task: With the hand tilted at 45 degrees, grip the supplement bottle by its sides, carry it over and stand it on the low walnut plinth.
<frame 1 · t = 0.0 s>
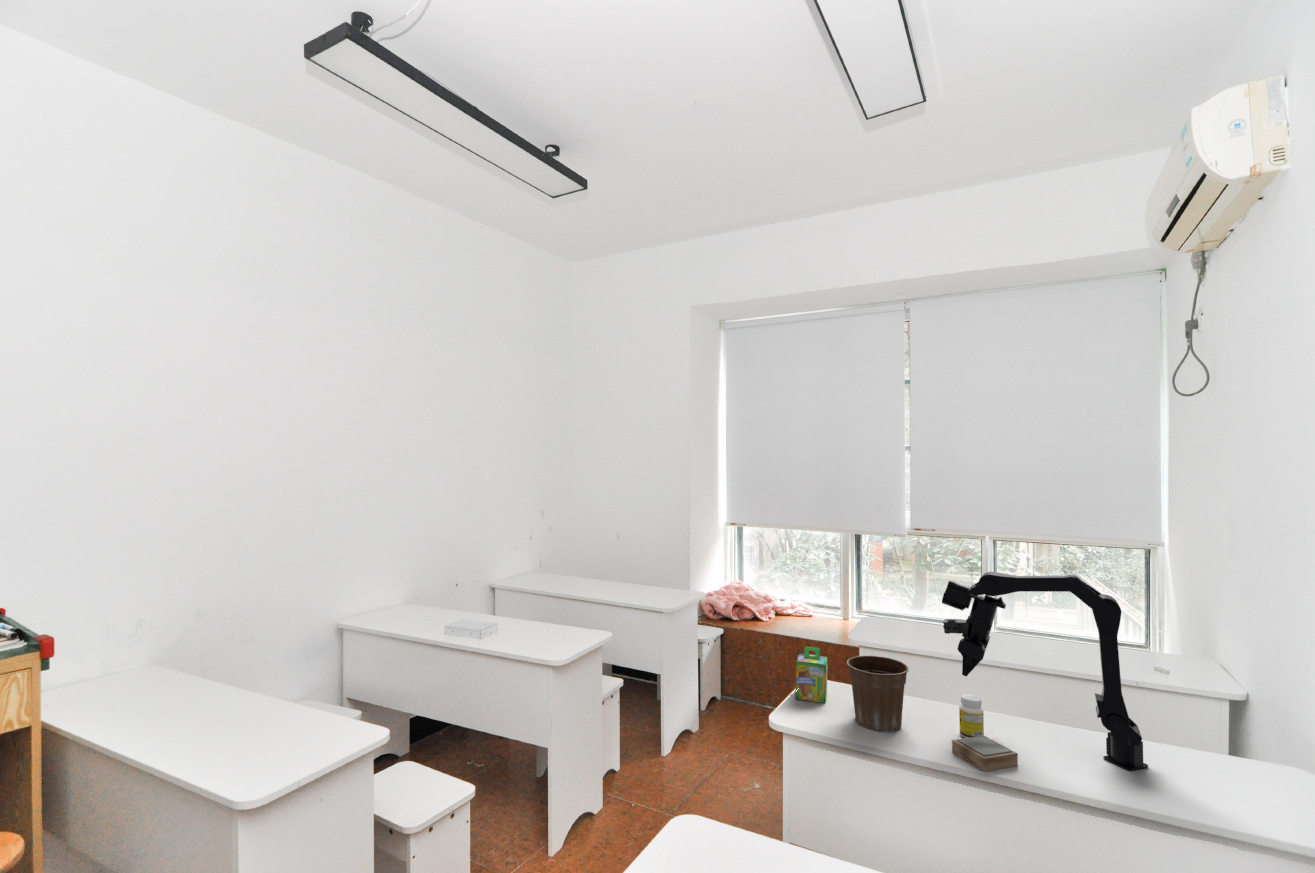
hand: (966, 670, 167), 15 cm above the table, tool pointing down, fingers open, 9 cm apart
plinth: (984, 758, 148), on the table
plant pot: (877, 723, 169), on the table
chalk box: (811, 697, 188), on the table
supplement bottle: (971, 737, 161), on the table
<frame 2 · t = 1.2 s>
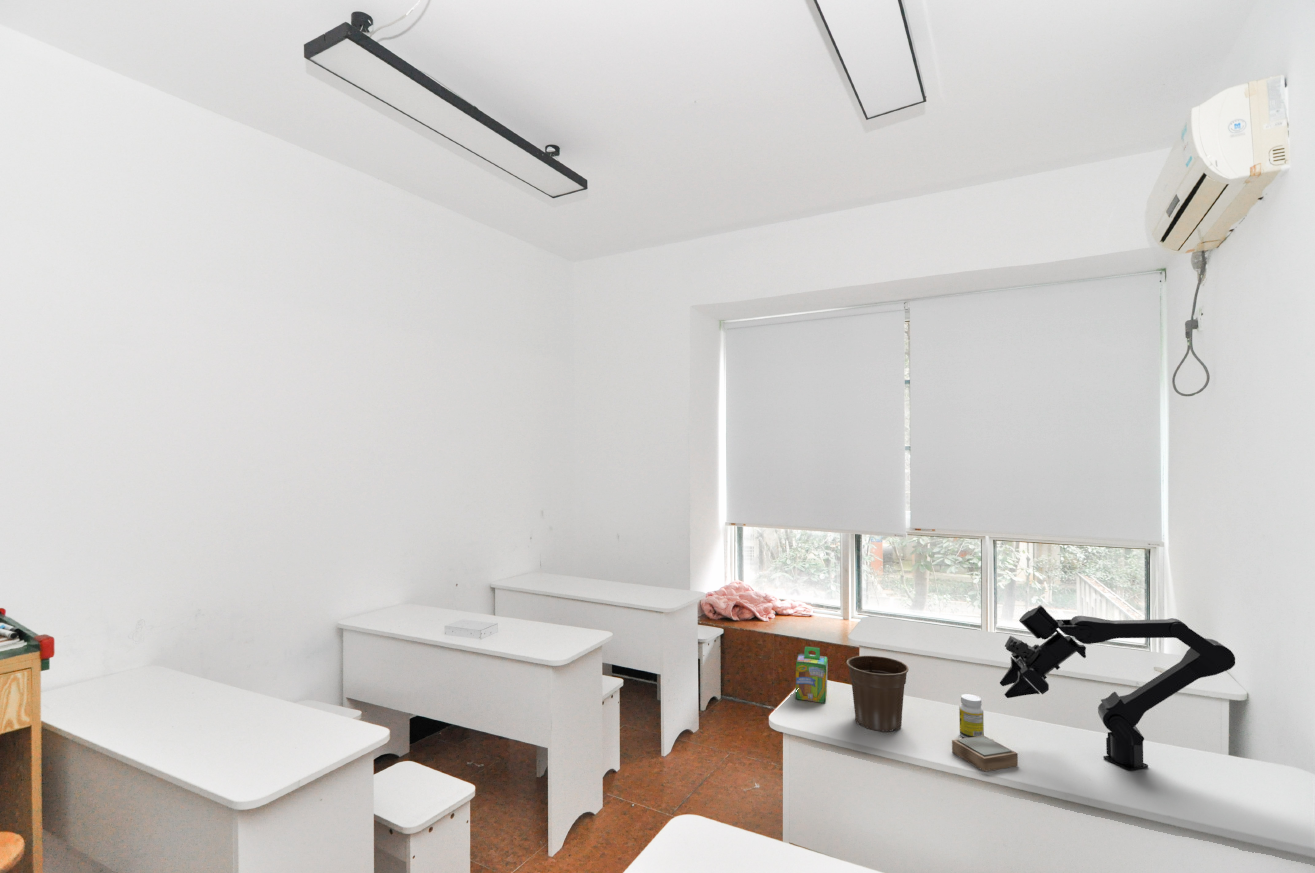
hand: (1003, 690, 159), 13 cm above the table, tool tilted 45°, fingers open, 9 cm apart
nothing on the table moved.
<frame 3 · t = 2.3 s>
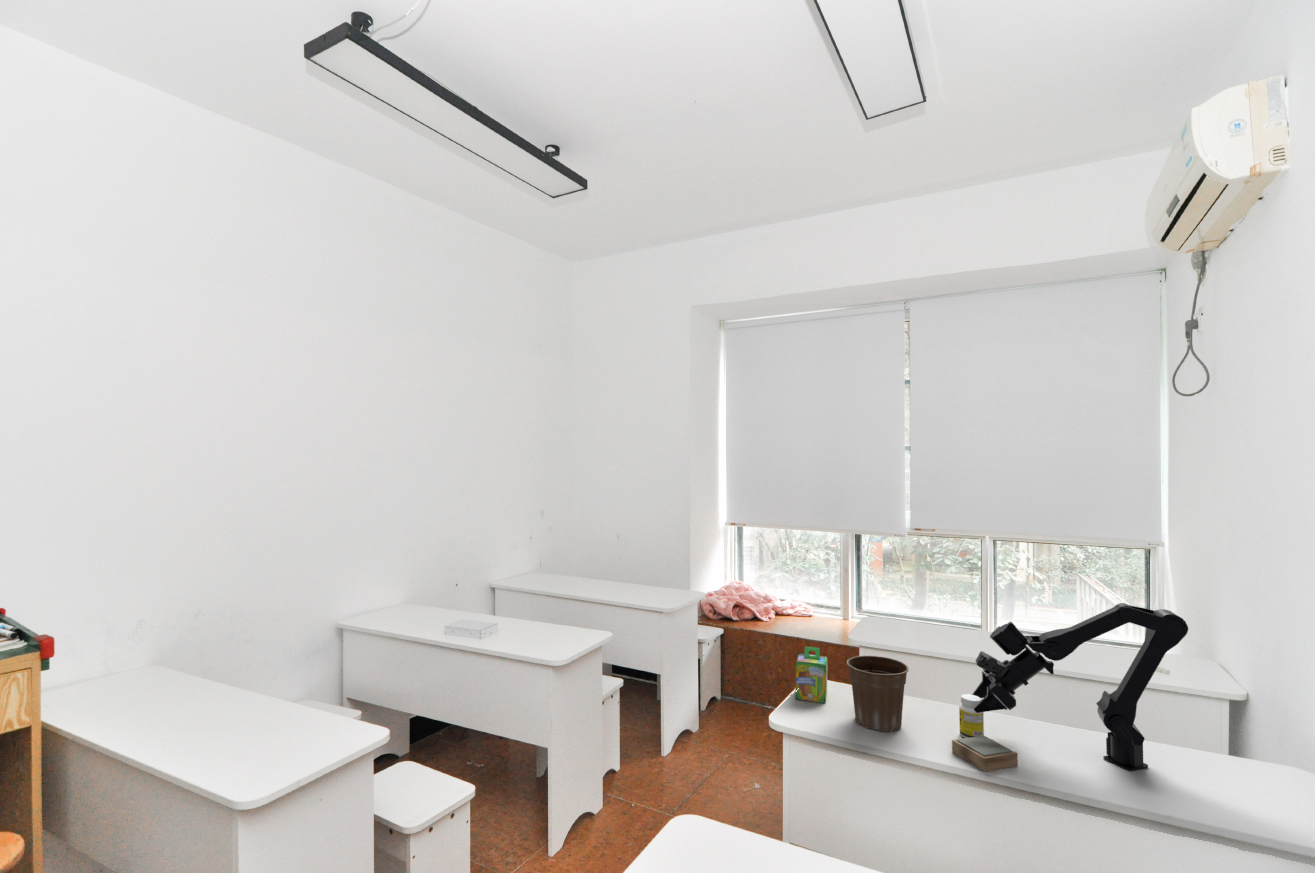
hand: (973, 704, 161), 8 cm above the table, tool tilted 45°, fingers open, 9 cm apart
nothing on the table moved.
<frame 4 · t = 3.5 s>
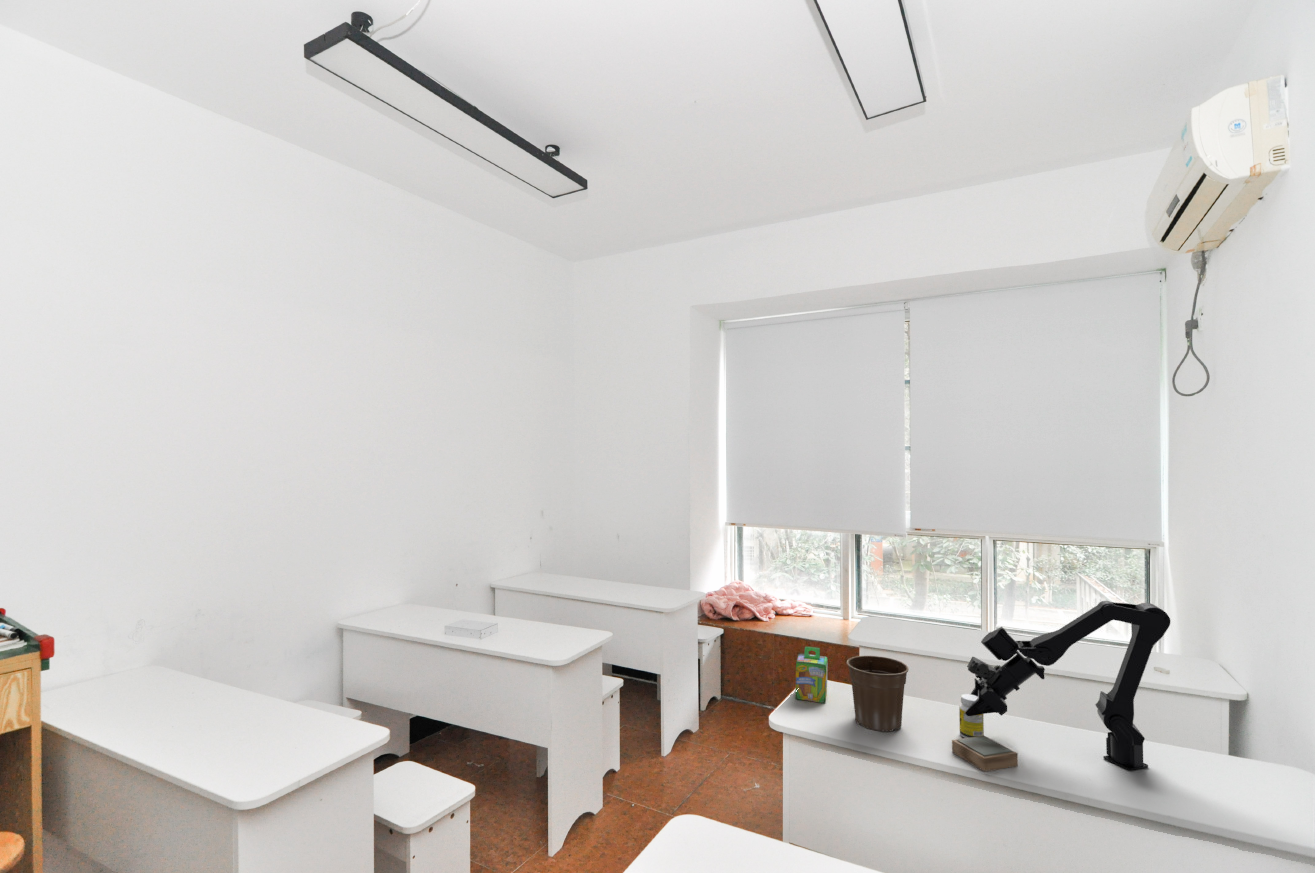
hand: (965, 710, 162), 7 cm above the table, tool tilted 45°, fingers closed on supplement bottle, 6 cm apart
supplement bottle: (971, 737, 161), on the table, touching gripper
everything else where it was.
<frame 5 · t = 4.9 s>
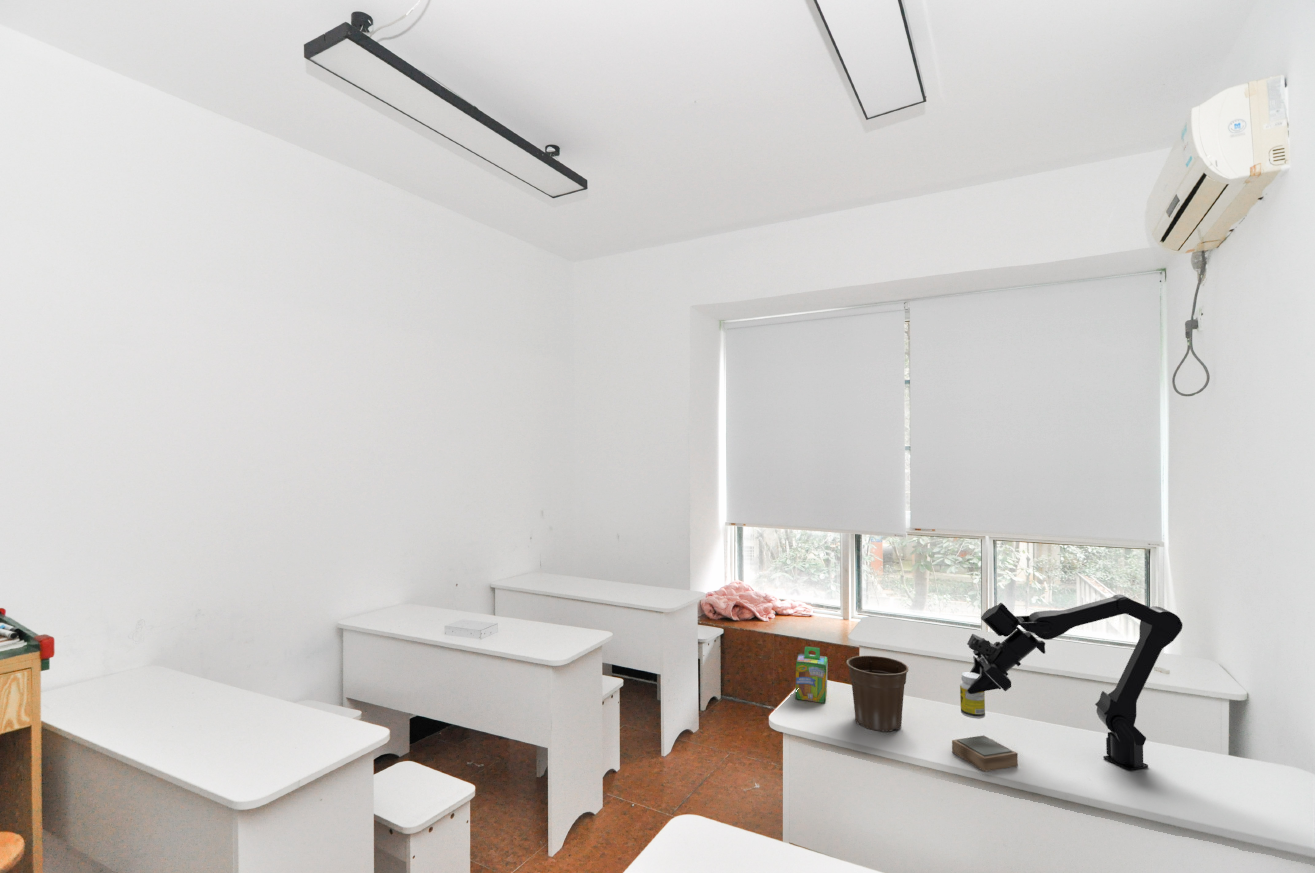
hand: (966, 688, 160), 13 cm above the table, tool tilted 45°, fingers closed on supplement bottle, 6 cm apart
supplement bottle: (972, 715, 159), point 6 cm above the table, touching gripper
everything else where it was.
when the fingers open (11 cm above the table, at t = 6.6 s): supplement bottle stays where it is, resting on plinth.
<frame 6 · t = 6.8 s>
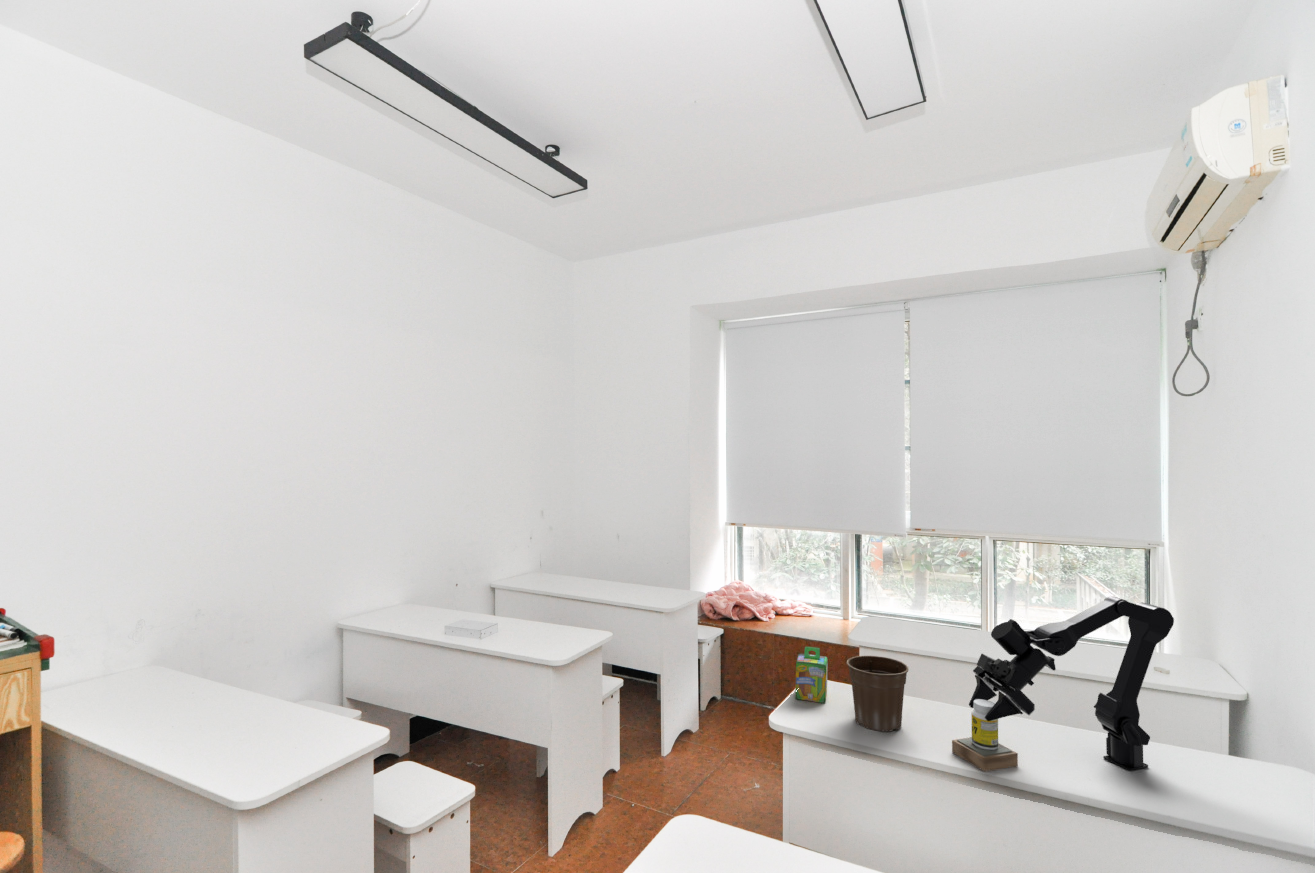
hand: (978, 712, 149), 11 cm above the table, tool tilted 45°, fingers open, 8 cm apart
supplement bottle: (984, 745, 149), point 3 cm above the table, touching plinth
everything else where it was.
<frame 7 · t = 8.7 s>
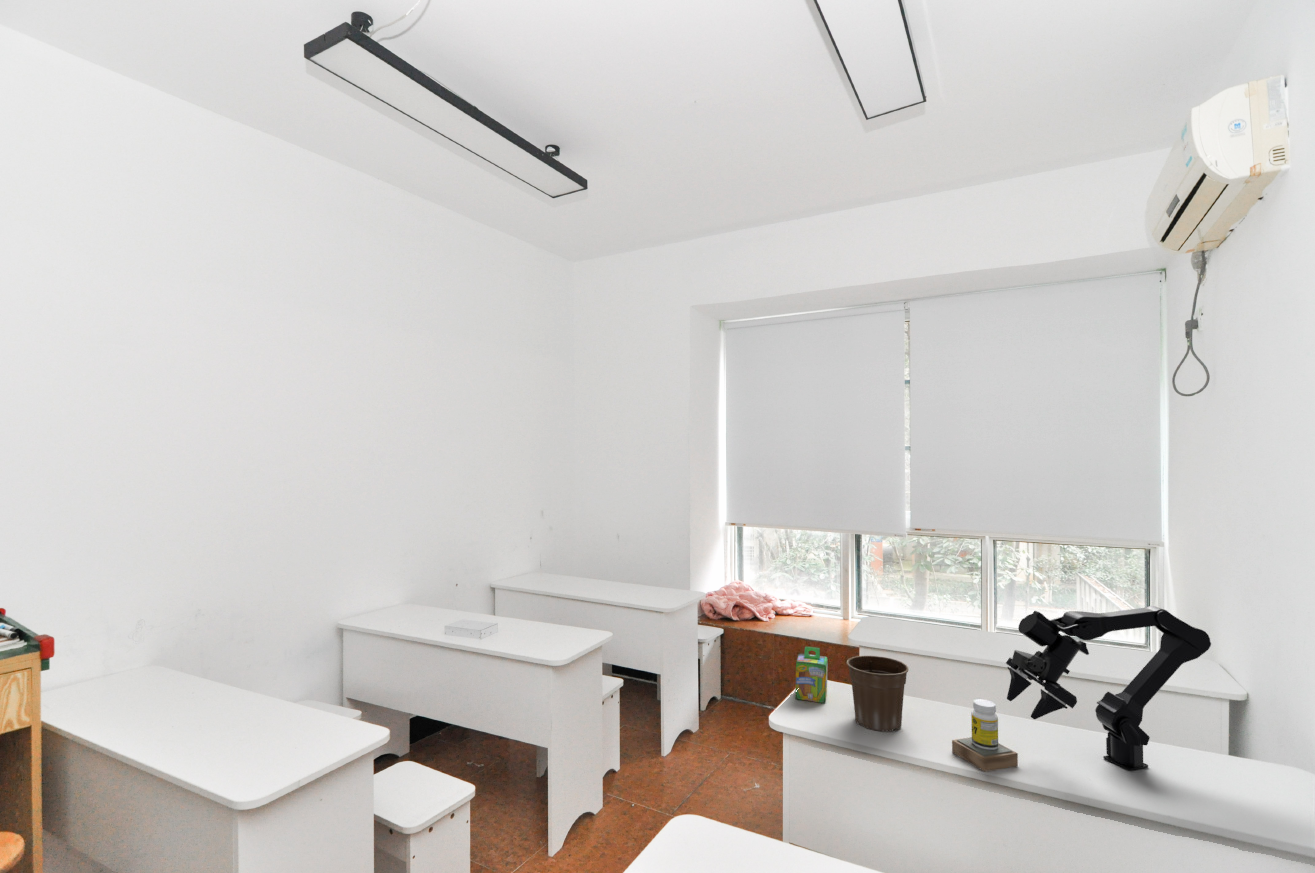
hand: (1020, 708, 150), 12 cm above the table, tool tilted 35°, fingers open, 9 cm apart
nothing on the table moved.
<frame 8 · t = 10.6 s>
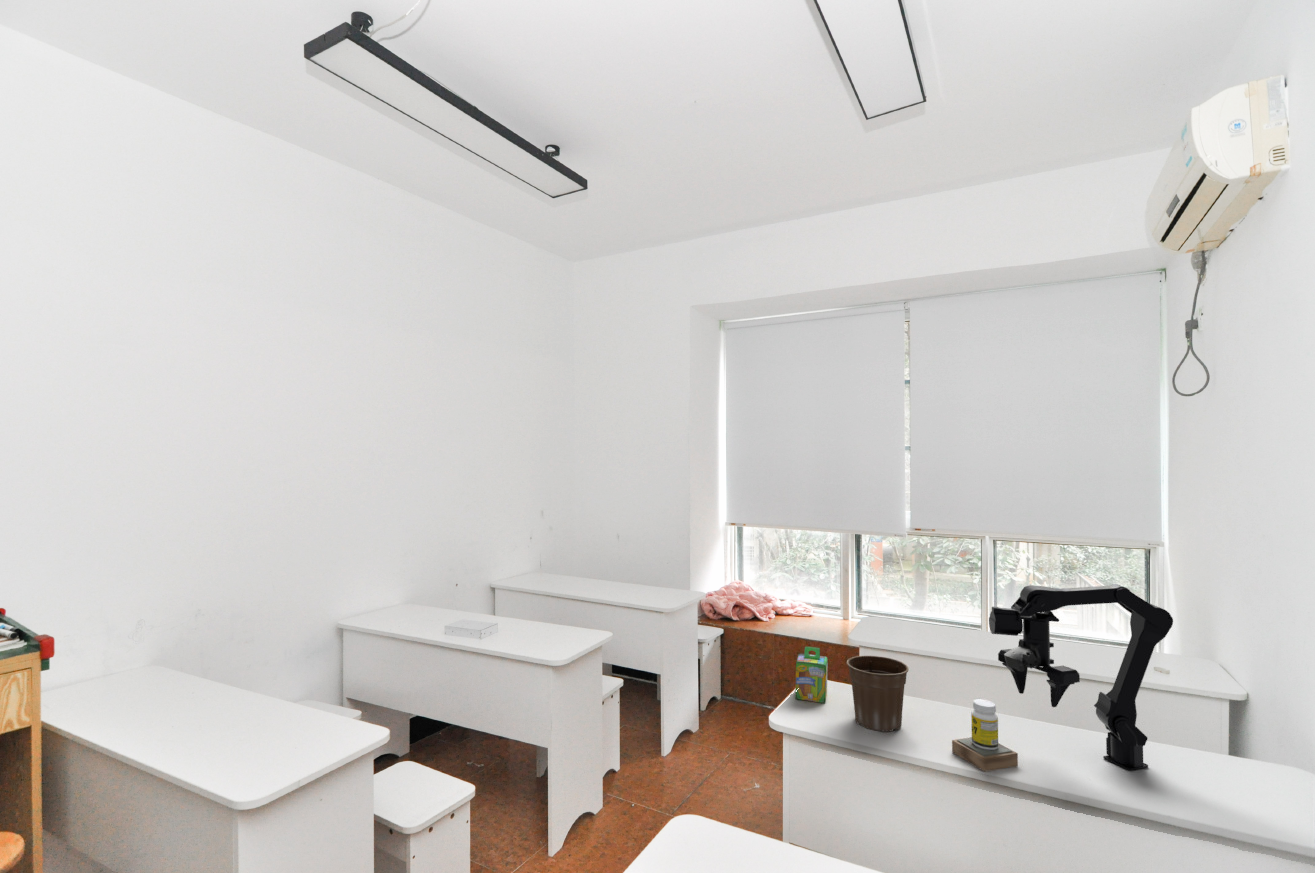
hand: (1037, 699, 153), 13 cm above the table, tool pointing down, fingers open, 9 cm apart
nothing on the table moved.
at the end: supplement bottle inside the target area on the plinth (0.2 cm from its centre), point 3.1 cm above the plinth's base; supplement bottle tilted 0°; the gripper is holding nothing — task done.
